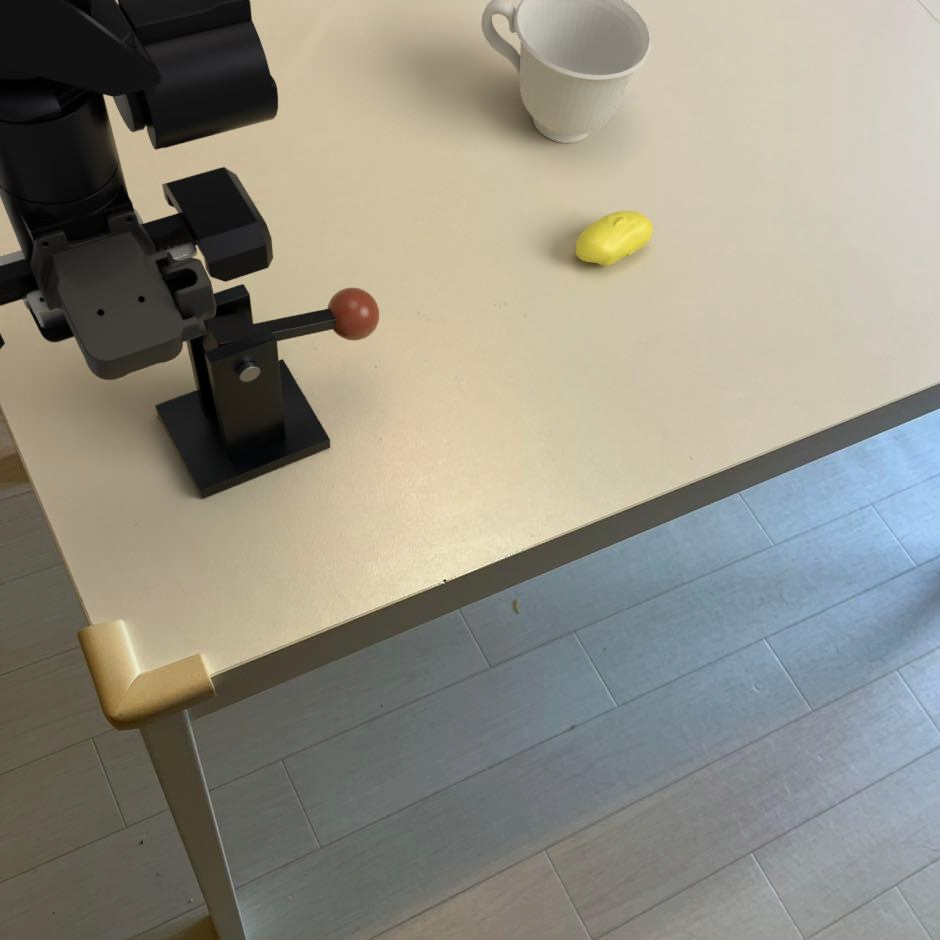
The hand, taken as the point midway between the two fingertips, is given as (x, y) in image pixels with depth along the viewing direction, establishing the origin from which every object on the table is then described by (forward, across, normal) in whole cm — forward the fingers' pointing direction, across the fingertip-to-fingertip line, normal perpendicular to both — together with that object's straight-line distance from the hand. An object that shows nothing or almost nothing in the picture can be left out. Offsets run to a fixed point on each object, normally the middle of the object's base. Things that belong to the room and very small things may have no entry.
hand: (118, 357), depth 62 cm
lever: (+5, +11, 0) cm, 12 cm away
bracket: (+13, +7, 0) cm, 15 cm away
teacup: (+13, +46, +20) cm, 52 cm away
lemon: (+13, +42, +4) cm, 45 cm away
